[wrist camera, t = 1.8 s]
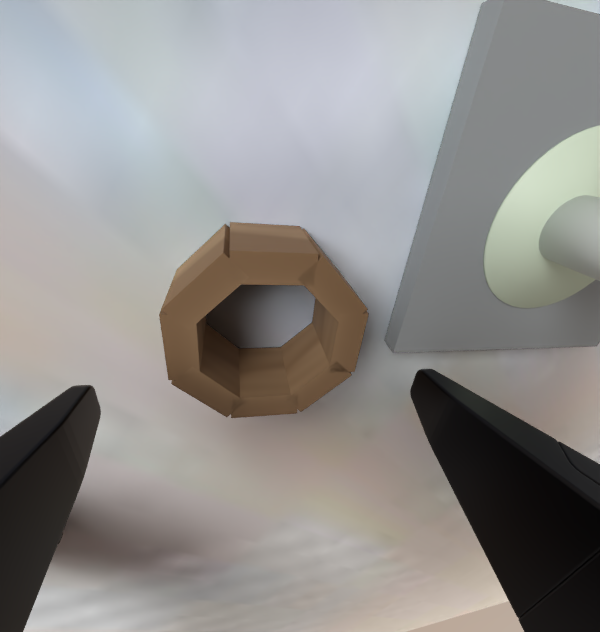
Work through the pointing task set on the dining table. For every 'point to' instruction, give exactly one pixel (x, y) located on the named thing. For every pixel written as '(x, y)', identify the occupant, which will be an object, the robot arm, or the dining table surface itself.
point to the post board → (512, 193)
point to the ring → (260, 363)
